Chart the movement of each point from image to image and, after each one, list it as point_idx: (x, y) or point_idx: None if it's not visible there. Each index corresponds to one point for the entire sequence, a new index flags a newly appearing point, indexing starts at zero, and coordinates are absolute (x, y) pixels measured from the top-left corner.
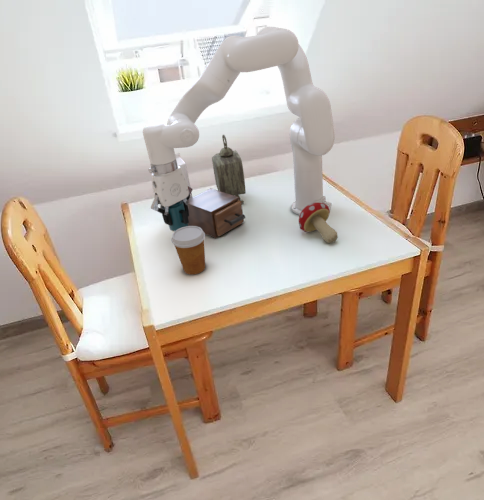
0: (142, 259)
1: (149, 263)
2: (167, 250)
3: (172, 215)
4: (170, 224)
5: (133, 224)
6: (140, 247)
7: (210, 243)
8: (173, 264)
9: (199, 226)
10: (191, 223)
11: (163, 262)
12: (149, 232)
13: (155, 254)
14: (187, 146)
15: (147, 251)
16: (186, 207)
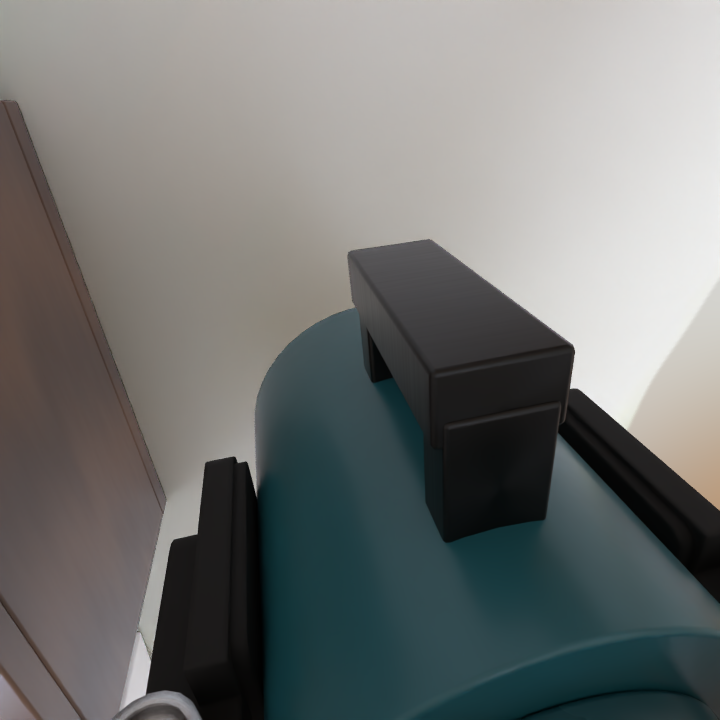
0: (683, 319)
1: (708, 225)
2: (506, 293)
3: (618, 498)
4: (583, 403)
5: None
6: None
7: (131, 45)
8: (646, 15)
9: (94, 386)
10: (138, 491)
11: (656, 139)
12: None
13: (594, 310)
14: None
15: (590, 390)
16: (218, 608)
